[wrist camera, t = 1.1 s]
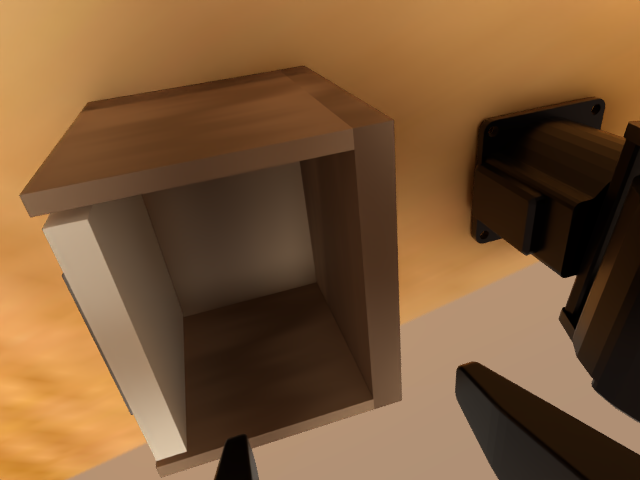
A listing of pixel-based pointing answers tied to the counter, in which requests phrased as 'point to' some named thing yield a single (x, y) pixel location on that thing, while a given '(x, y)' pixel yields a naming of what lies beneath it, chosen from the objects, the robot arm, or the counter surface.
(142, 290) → the cabinet door
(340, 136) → the open wooden box
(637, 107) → the counter surface
